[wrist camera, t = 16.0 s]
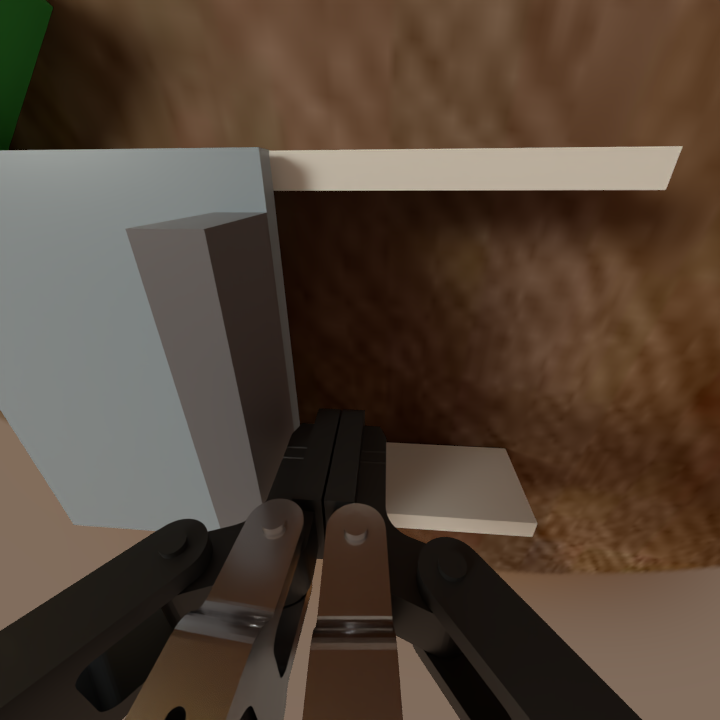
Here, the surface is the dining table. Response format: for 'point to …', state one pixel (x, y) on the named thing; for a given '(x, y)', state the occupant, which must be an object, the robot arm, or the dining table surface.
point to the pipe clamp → (18, 56)
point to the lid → (146, 331)
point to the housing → (467, 172)
